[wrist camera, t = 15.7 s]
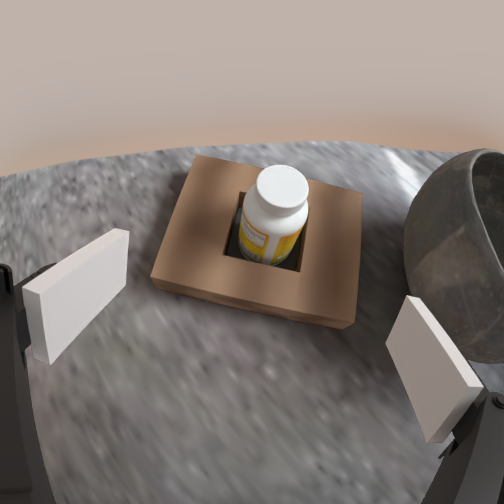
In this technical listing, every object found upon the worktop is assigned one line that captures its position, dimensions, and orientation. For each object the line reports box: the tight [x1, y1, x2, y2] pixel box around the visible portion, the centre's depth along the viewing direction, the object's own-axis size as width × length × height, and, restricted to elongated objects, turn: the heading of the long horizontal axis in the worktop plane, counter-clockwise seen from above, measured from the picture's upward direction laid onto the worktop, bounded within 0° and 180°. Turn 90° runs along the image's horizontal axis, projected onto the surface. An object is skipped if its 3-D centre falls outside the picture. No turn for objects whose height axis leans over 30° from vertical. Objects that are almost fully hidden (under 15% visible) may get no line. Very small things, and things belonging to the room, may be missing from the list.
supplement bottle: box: [238, 165, 309, 266], centre depth 28 cm, size 5×5×10 cm
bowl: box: [403, 148, 504, 364], centre depth 26 cm, size 20×20×15 cm
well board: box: [150, 155, 362, 330], centre depth 31 cm, size 18×14×3 cm
